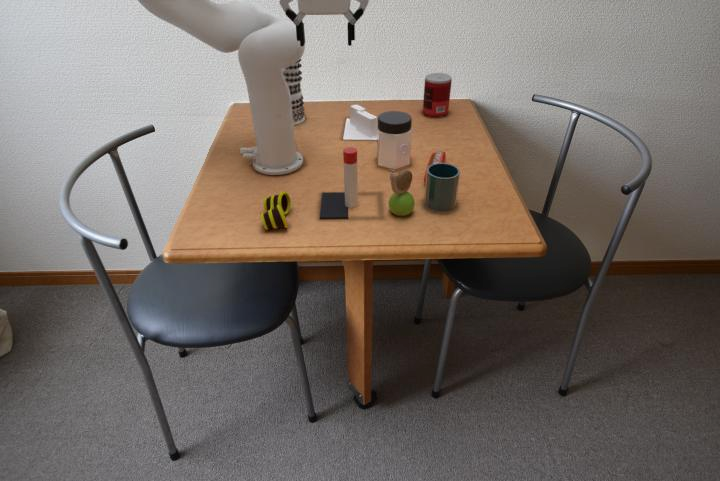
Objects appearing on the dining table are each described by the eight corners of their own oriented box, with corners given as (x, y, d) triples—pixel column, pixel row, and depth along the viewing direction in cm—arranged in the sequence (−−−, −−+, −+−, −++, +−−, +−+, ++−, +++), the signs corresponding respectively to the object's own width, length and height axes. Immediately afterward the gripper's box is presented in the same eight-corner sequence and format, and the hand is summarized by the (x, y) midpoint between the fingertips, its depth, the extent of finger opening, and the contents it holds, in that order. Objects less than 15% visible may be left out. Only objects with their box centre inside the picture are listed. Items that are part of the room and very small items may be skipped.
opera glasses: (270, 210, 104) (262, 191, 101) (293, 205, 104) (286, 186, 101) (265, 236, 97) (256, 216, 94) (290, 231, 96) (282, 211, 93)
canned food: (452, 111, 147) (456, 75, 140) (441, 119, 141) (445, 83, 135) (429, 106, 150) (432, 71, 143) (418, 114, 145) (420, 78, 138)
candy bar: (431, 157, 122) (432, 147, 120) (446, 159, 121) (447, 148, 119) (422, 189, 109) (423, 177, 108) (438, 191, 109) (439, 179, 107)
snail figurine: (379, 215, 101) (380, 165, 94) (399, 204, 104) (402, 154, 97) (398, 226, 98) (401, 175, 90) (419, 214, 101) (423, 163, 94)
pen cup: (426, 213, 101) (429, 178, 96) (422, 196, 107) (425, 163, 102) (457, 213, 101) (462, 178, 96) (452, 196, 107) (456, 162, 102)
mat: (319, 219, 100) (319, 217, 100) (322, 194, 108) (322, 192, 108) (381, 218, 100) (381, 216, 100) (379, 193, 108) (379, 191, 108)
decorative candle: (271, 117, 144) (260, 29, 129) (300, 111, 147) (292, 25, 132) (280, 128, 138) (269, 37, 122) (310, 122, 141) (303, 33, 126)
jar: (388, 173, 115) (389, 127, 108) (369, 161, 121) (369, 115, 114) (417, 164, 119) (420, 118, 112) (397, 151, 125) (399, 107, 117)
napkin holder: (384, 139, 131) (384, 120, 127) (342, 139, 131) (342, 120, 128) (383, 118, 143) (384, 99, 139) (345, 118, 143) (345, 99, 139)
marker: (344, 208, 102) (343, 153, 95) (345, 201, 105) (343, 147, 97) (357, 207, 102) (357, 153, 95) (357, 200, 105) (357, 147, 97)
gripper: (368, -57, 90) (368, 39, 100) (276, -56, 90) (286, 40, 100) (369, -52, 84) (368, 49, 94) (271, -51, 84) (281, 50, 94)
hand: (326, 44), depth 97 cm, fingers open, 9 cm apart
